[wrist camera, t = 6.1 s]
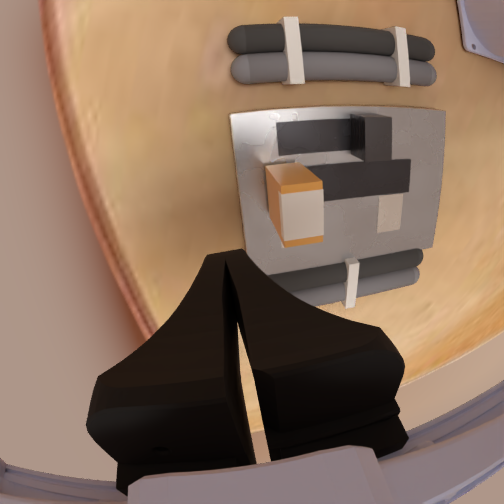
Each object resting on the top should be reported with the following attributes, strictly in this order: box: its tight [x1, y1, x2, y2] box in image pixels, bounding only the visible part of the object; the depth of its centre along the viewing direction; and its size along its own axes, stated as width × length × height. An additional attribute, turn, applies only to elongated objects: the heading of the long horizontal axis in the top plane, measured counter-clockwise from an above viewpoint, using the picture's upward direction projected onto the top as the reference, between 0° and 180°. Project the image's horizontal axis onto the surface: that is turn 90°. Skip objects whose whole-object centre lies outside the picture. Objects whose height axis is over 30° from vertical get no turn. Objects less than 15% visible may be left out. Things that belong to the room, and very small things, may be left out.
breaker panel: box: [229, 105, 446, 275], centre depth 19 cm, size 15×11×3 cm
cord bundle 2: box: [268, 248, 423, 309], centre depth 23 cm, size 14×4×2 cm, turn 96°
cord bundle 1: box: [227, 17, 437, 87], centre depth 15 cm, size 14×4×2 cm, turn 96°
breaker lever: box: [265, 162, 324, 248], centre depth 17 cm, size 2×3×4 cm, turn 6°
